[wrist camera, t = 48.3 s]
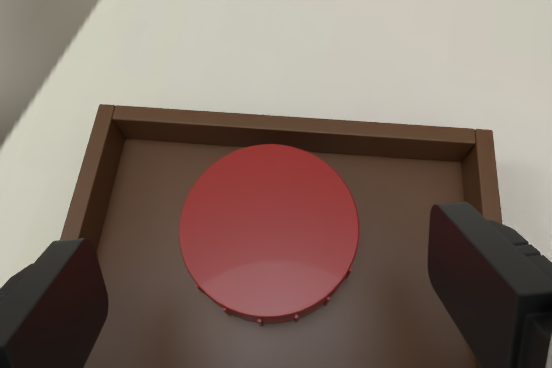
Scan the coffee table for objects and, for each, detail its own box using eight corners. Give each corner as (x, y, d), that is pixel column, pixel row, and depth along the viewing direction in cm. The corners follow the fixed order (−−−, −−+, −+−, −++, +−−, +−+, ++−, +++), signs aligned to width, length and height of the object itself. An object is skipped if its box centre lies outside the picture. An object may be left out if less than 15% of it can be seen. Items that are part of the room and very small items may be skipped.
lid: (368, 188, 16) (377, 166, 14) (330, 348, 14) (335, 344, 12) (221, 150, 17) (213, 125, 15) (165, 295, 15) (148, 285, 13)
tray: (46, 403, 14) (10, 408, 12) (118, 130, 18) (99, 103, 16) (496, 454, 13) (528, 467, 11) (471, 155, 17) (492, 129, 15)
